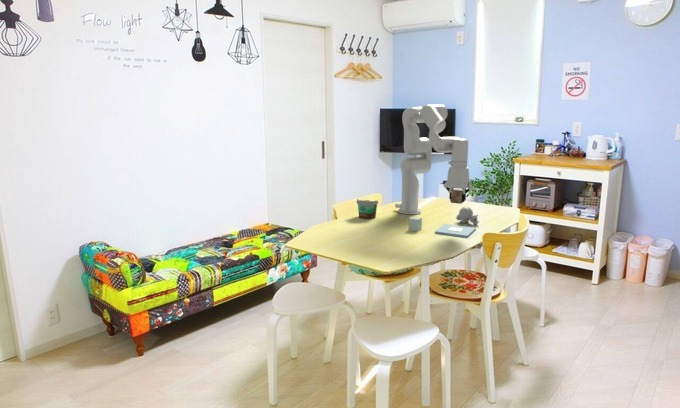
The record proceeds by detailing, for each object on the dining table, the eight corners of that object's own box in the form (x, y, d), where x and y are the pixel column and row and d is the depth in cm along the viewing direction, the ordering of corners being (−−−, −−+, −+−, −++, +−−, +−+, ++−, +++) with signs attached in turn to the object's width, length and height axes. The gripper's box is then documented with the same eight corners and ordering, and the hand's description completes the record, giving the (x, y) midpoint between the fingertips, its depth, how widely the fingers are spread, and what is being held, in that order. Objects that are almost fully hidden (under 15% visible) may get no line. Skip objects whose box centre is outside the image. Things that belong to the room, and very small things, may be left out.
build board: (434, 233, 246) (435, 230, 246) (444, 225, 259) (444, 223, 259) (467, 237, 238) (467, 235, 238) (475, 229, 252) (475, 227, 252)
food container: (353, 218, 275) (353, 200, 273) (357, 215, 280) (357, 198, 278) (374, 220, 270) (374, 202, 268) (378, 218, 276) (378, 200, 274)
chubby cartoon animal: (471, 231, 260) (477, 217, 256) (453, 218, 267) (459, 205, 263) (478, 228, 264) (485, 215, 260) (461, 216, 271) (467, 203, 267)
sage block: (408, 230, 252) (408, 218, 250) (412, 227, 256) (412, 216, 255) (418, 231, 249) (418, 219, 248) (421, 229, 254) (421, 217, 252)
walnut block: (450, 202, 245) (451, 190, 243) (453, 200, 249) (454, 189, 248) (460, 203, 242) (461, 191, 241) (463, 201, 247) (464, 189, 245)
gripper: (439, 164, 242) (438, 201, 246) (475, 166, 234) (472, 204, 238) (444, 162, 249) (442, 198, 253) (478, 164, 241) (476, 201, 245)
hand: (457, 200), depth 245 cm, fingers closed on walnut block, 5 cm apart
